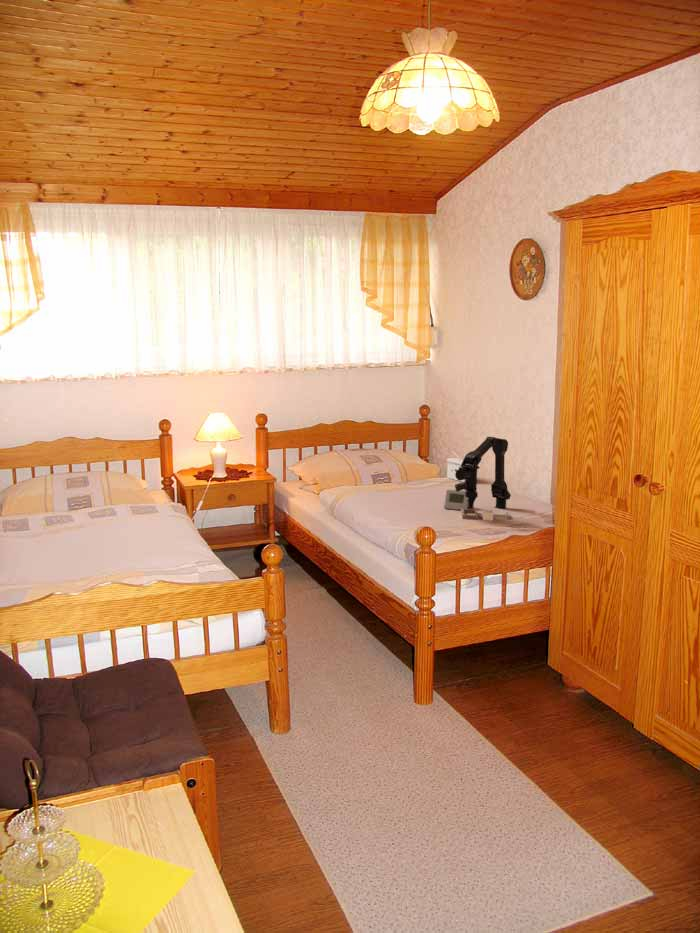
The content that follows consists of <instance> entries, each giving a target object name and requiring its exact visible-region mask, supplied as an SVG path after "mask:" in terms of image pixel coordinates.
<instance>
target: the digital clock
mask: <svg viewBox="0 0 700 933" xmlns="http://www.w3.org/2000/svg"><path fill="white" fill-rule="evenodd" d="M465 492H466V491H465V490H464V489H463V490H460V491H458V492H457V491H456V488H455V489H452V488H446V489H445V494H444V501H443V509H446V510H447V509H448V510H453V511H459V512H460V511H461V512H462V509H467V497H465Z"/></svg>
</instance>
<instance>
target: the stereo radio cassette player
mask: <svg viewBox="0 0 700 933" xmlns="http://www.w3.org/2000/svg"><path fill="white" fill-rule="evenodd" d="M451 452H452V453H453V454H454V455H455V456H456V457H449V458H446V461H447V473H446V476H447V479H450V480H453V481H454V480H455V481H458V482H460V483H461V482H465V480H458V479H457V478H456V476H455V473H456V471H457V470H459V467H461V464H462V462H463V460H464V458H463V459H461V458H460V456H458V454H456V453H455V452H454V451H453V450H451ZM467 465H468V464H467Z"/></svg>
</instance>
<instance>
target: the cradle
mask: <svg viewBox="0 0 700 933" xmlns="http://www.w3.org/2000/svg"><path fill="white" fill-rule="evenodd" d="M510 517H511V516H510V513H509V512H508V511H506V512H505V514H503V513H493V520H510V519H511V518H510Z"/></svg>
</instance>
